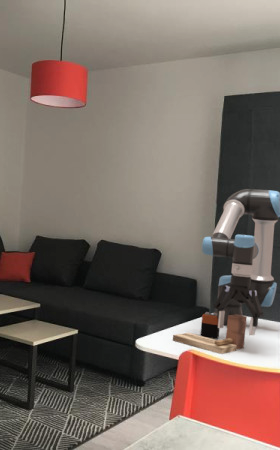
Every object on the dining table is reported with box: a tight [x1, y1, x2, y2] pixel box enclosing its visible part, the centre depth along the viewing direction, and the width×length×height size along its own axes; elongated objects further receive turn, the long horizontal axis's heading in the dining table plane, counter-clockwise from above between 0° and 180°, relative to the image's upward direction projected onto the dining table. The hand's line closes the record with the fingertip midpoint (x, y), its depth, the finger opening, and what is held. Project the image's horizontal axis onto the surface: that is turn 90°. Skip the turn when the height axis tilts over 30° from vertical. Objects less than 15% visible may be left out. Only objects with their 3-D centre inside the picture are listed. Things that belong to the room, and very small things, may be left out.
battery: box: [200, 311, 220, 340], centre depth 209 cm, size 4×7×10 cm, turn 68°
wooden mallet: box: [215, 314, 247, 351], centre depth 190 cm, size 16×4×12 cm, turn 139°
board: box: [172, 332, 237, 355], centre depth 192 cm, size 10×22×2 cm, turn 49°
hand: (235, 331), depth 193 cm, fingers open, 13 cm apart
